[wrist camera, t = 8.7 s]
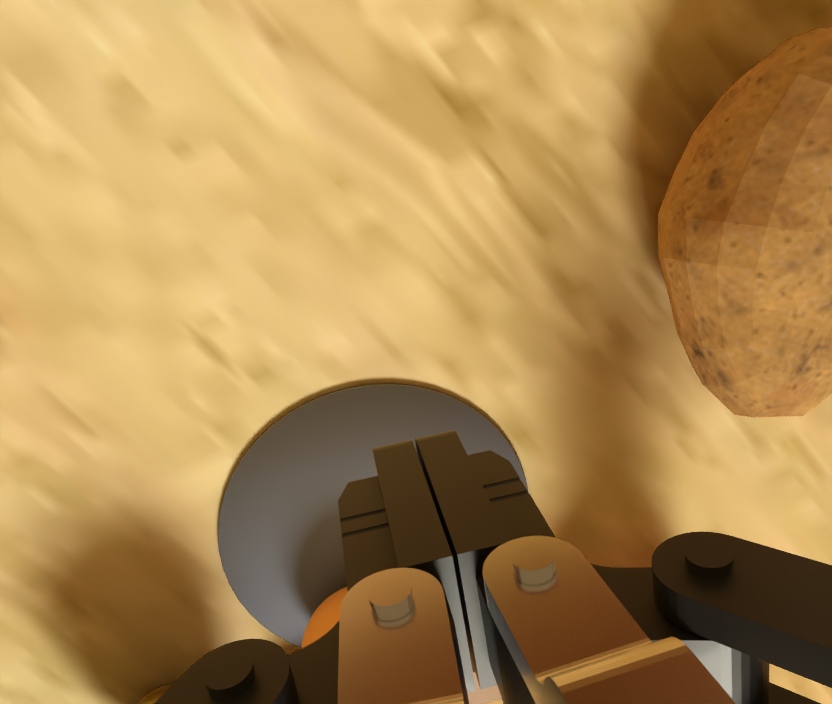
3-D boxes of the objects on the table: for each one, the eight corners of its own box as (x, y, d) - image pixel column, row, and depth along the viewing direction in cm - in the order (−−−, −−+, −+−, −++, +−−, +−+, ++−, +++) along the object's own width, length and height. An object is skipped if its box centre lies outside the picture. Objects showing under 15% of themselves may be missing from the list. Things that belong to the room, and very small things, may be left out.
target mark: (510, 352, 31) (511, 354, 31) (542, 613, 36) (543, 616, 36) (180, 423, 29) (179, 426, 29) (260, 685, 34) (260, 689, 34)
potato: (584, 362, 32) (676, 444, 24) (663, 15, 27) (804, -16, 20) (778, 379, 34) (918, 458, 26) (880, 57, 29) (1082, 43, 22)
